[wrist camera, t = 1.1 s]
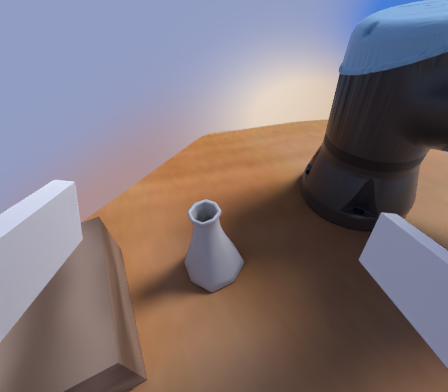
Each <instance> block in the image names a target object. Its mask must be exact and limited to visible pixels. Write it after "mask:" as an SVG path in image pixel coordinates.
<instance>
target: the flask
mask: <svg viewBox="0 0 448 392" xmlns="http://www.w3.org/2000/svg"><path fill="white" fill-rule="evenodd" d="M187 214H188V216H189V218H190V220H191V222H192V223H193V236H192V240H191V243H190V247H189V250H188V253H187V255H186V258H185V261H184V264H185V266H186V269H187V272H188V274H189V277H190V280H191V282H193V283H194V284H196V285H198V286H200V287H202V288H204V289H206V290H208V291H210V292H214V291H216V290H218V289H220V288H222V287H225V286H227V285H229V284H231V283H233V282H234V281H235V279H236V278H237V276H238V274H239V272H240V270H241V268H242V266H243V264H244V261H243V259H242V257H241V255H240V254H239V252H238V250H237V249H236V247H235V245H234V244H233V243H232V241H231V240H230V239H229V238H228V237H227V236H226V234H225V233H224V231H223V230H222V228H221V225H220V221H219V216H220V215H221V210H220V208H219V207H218V205H217V203H215V202H212V201H210V200H207V199H204V200H202V201H199V202H196V203H194V204H193V205H192V206H191V208H190V209H189V210H188V211H187Z"/></svg>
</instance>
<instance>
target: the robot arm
mask: <svg viewBox="0 0 448 392" xmlns="http://www.w3.org/2000/svg"><path fill="white" fill-rule="evenodd" d="M339 72H340V75H339V80H338V84H337V88H336V92H335V96H334V100H333V105H332V109H331V113H330V117H329V121H328V125H327V129H326V133H325V137H324V141H323V143H322V145H321V146H320V148H319V149H318V151H317V152H316V153H315V155H314V156H313V158H312V159H311V161H310V162H309V164H308V165H307V167H306V169H305V171H304V174H303V179H302V184H301V190H302V194H303V197H304V199H305V201H306V202H307V203H308V205H309V206H310V207H311V208H312V209H313V210H314V211H315V212H316V213H318V214H319V215H320V216H322V217H323V218H325V219H327V220H329V221H331V222H333V223H335V224H338V225H340V226H343V227H347V228H351V229H356V230H365V231H372V233H371V235H370V237H369V239H368V241H367V243H366V246H365V248H364V250H363V252H362V254H361V256H360V258H359V261H360V263H361V264H362V265H363V266H364V267H365V269H366V270H367V271H368V272H369V273H370V275H371V276H372V277H373V278H374V280H375V281H376V282H377V283H378V284H379V286H380V287H381V288H382V289H383V290H384V292H385V293H386V294H387V295H388V297H389V298H390V299H391V300H392V301H393V303H394V304H395V305H396V306H397V307H398V309H399V310H400V311H401V312H402V314H403V315H404V316H405V317H406V318H407V320H408V321H409V322H410V323H411V324H412V326H413V327H414V328H415V329H416V331H417V332H418V333H419V334H420V335H421V337H422V338H423V339H424V340H425V341H426V343H427V344H428V345H429V346H430V348H431V349H432V350H433V351H434V352H435V354H436V355H437V356H438V357H439V358H440V360H441V361H442V362H443V363H444V365H445V366H446V367H447V368H448V250H446V249H445V248H443V247H442V246H441V245H439V244H438V243H436V242H435V241H434V240H432V239H431V238H429V237H428V236H427V235H425V234H424V233H423V232H421V231H420V230H418V229H417V228H416V227H414V226H413V225H411V224H410V223H409V222H407V221H406V220H404V218H405V217H406V215H407V214H408V212H409V211H410V209H411V208H412V206H413V204H414V201H415V197H416V189H417V182H418V174H419V167H420V164H421V162H422V160H423V159H424V157H425V156H426V154H427V152H428V151H429V150H430V149H437V150H442V151H447V152H448V0H425V1H419V2H414V3H409V4H404V5H399V6H395V7H392V8H388V9H384V10H381V11H379V12H376V13H374V14H371V15H370V16H368V17H366V18H365V19H363V20H362V21H361V22H360V23H359V24H358V25H357V26H356V27H355V29H354V30H353V32H352V34H351V37H350V40H349V43H348V47H347V50H346V53H345V56H344V60H343V63H342V64H341V66H340V68H339ZM82 240H83V236H82V229H81V222H80V215H79V207H78V201H77V193H76V186H75V182H72V181H62V180H53V181H51V182H50V183H48V184H47V185H45V186H44V187H42V188H41V189H39V190H37V191H36V192H34V193H33V194H31V195H30V196H28V197H27V198H25V199H23V200H22V201H20V202H19V203H17V204H16V205H14V206H12V207H11V208H9V209H8V210H6V211H5V212H3V213H2V214H0V342H1V341H2V340H3V339H4V337H5V336H6V335H7V334H8V332H9V331H10V330H11V329H12V327H13V326H14V325H15V324H16V322H17V321H18V320H19V319H20V317H21V316H22V315H23V313H24V312H25V311H26V310H27V308H28V307H29V306H30V305H31V303H32V302H33V301H34V300H35V298H36V297H37V296H38V295H39V293H40V292H41V291H42V290H43V288H44V287H45V286H46V285H47V283H48V282H49V281H50V280H51V278H52V277H53V276H54V275H55V273H56V272H57V271H58V270H59V268H60V267H61V266H62V265H63V263H64V262H65V261H66V260H67V258H68V257H69V256H70V255H71V253H72V252H73V251H74V250H75V248H76V247H77V246H78V245H79V243H80V242H81V241H82Z"/></svg>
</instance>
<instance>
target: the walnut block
mask: <svg viewBox="0 0 448 392" xmlns="http://www.w3.org/2000/svg"><path fill="white" fill-rule="evenodd" d="M81 229H82V236H83V240H82V241H81V242H80V243H79V245H78V246H77V247H76V248H75V250H74V251H73V252H72V253H71V255H70V256H69V257H68V258H67V260H66V261H65V262H64V263H63V265H62V266H61V267H60V268H59V270H58V271H57V272H56V273H55V275H54V276H53V277H52V278H51V280H50V281H49V282H48V283H47V285H46V286H45V287H44V288H43V290H42V291H41V292H40V293H39V295H38V296H37V297H36V298H35V300H34V301H33V302H32V303H31V305H30V306H29V307H28V308H27V310H26V311H25V312H24V313H23V315H22V316H21V317H20V319H19V320H18V321H17V322H16V324H15V325H14V326H13V327H12V329H11V330H10V331H9V332H8V334H7V335H6V336H5V337H4V339H3V340H2V341H1V342H0V392H126V391H128V390H129V389H131V388H133V387H135V386H137V385H138V384H140V383H142V382H144V381H145V380H147V378H146V373H145V368H144V363H143V358H142V353H141V347H140V342H139V337H138V332H137V327H136V322H135V317H134V312H133V307H132V302H131V297H130V292H129V287H128V282H127V277H126V272H125V267H124V262H123V257H122V252H121V249H120V247H119V246H118V244H117V243H116V242H115V240H114V239H113V237H112V236H111V234H110V233H109V231H108V230H107V228H106V227H105V225H104V224H103V222H102V221H101V219H100V218H99V217H96V218H94V219H91V220H88V221H85V222H83V223H81Z"/></svg>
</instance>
